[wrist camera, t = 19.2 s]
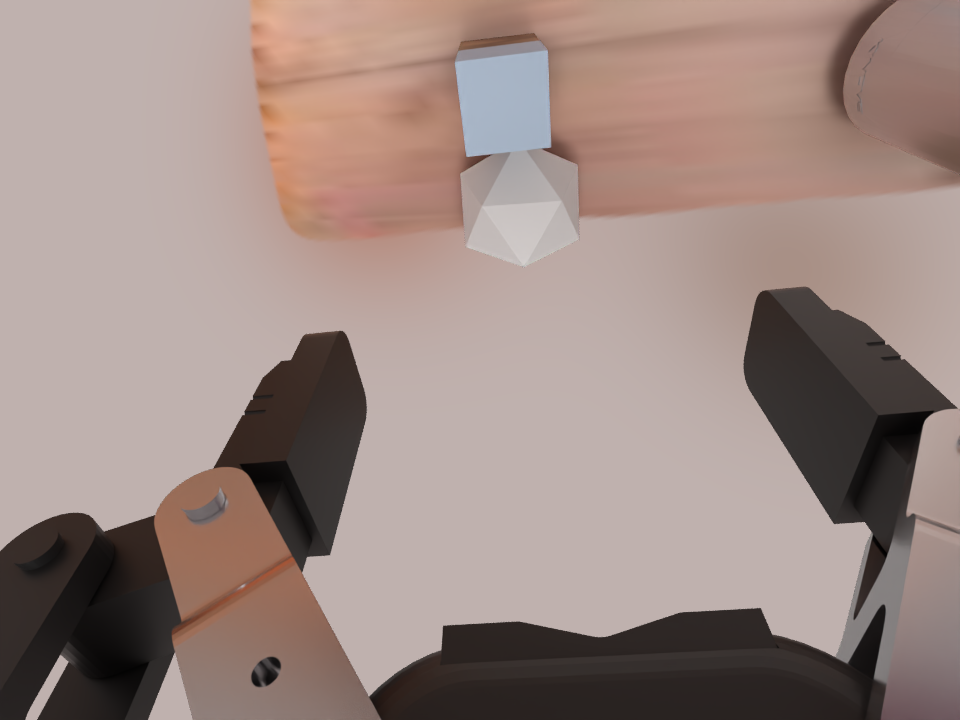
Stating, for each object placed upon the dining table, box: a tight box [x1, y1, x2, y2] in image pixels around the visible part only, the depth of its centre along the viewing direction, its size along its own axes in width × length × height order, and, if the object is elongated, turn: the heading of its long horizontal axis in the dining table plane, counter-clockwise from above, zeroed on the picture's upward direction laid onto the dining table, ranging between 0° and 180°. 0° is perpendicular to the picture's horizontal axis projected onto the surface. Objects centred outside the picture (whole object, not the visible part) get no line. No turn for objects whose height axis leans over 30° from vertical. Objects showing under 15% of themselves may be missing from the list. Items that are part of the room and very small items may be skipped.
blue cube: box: [455, 40, 551, 157], centre depth 33 cm, size 5×5×5 cm
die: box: [460, 149, 580, 267], centre depth 40 cm, size 8×9×10 cm
